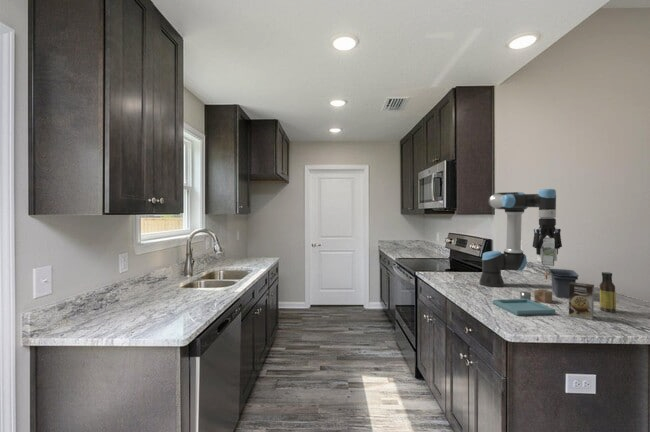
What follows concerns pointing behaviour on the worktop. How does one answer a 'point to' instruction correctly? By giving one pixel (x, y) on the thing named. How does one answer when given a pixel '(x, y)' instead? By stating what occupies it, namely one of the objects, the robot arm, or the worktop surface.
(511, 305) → the tray
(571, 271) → the storage bin
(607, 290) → the sauce bottle
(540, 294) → the walnut block
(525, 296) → the grey metal cylinder
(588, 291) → the coffee box
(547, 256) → the syrup box
